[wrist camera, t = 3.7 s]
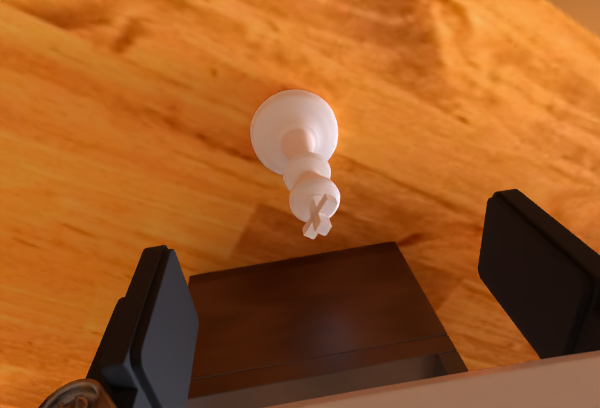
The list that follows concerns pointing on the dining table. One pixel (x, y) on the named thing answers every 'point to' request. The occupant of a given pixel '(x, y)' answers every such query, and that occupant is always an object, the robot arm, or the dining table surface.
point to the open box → (314, 329)
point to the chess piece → (300, 153)
